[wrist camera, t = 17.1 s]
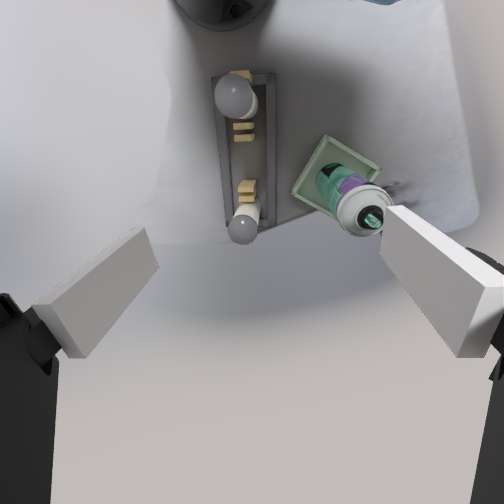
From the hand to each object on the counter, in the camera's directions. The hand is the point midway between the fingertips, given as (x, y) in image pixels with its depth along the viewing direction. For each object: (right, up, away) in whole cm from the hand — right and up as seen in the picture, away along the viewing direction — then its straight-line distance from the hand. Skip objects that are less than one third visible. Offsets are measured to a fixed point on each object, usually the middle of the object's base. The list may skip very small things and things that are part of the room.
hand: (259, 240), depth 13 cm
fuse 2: (-1, +8, +31) cm, 32 cm away
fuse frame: (-1, +15, +27) cm, 31 cm away
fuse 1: (-1, +22, +24) cm, 32 cm away
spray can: (+13, +12, +27) cm, 32 cm away
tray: (+13, +12, +28) cm, 33 cm away
